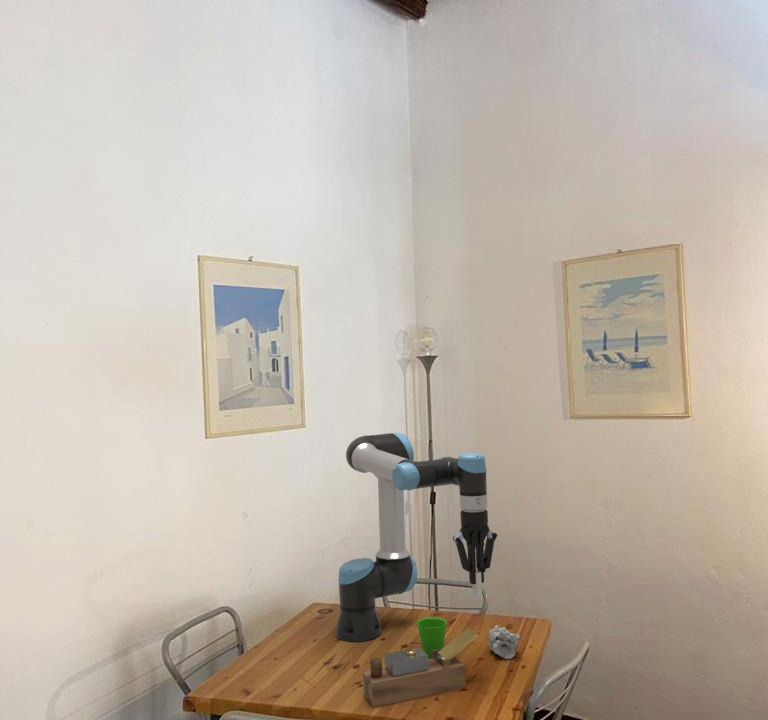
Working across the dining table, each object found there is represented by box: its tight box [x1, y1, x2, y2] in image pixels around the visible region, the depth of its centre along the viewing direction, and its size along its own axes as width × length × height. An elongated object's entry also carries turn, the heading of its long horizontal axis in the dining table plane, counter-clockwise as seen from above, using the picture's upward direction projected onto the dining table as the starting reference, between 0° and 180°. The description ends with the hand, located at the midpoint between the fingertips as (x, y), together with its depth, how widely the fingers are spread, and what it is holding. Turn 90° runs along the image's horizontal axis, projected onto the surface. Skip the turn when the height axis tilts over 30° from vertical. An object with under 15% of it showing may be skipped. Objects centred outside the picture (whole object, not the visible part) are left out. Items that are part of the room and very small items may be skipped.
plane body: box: [362, 649, 466, 708], centre depth 190 cm, size 8×26×10 cm, turn 110°
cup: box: [416, 616, 448, 659], centre depth 210 cm, size 9×9×11 cm
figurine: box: [487, 624, 521, 660], centre depth 213 cm, size 8×10×12 cm
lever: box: [434, 627, 479, 663], centre depth 194 cm, size 6×1×12 cm
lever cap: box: [384, 647, 429, 677], centre depth 189 cm, size 6×10×5 cm, turn 110°
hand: (477, 595), depth 197 cm, fingers closed
